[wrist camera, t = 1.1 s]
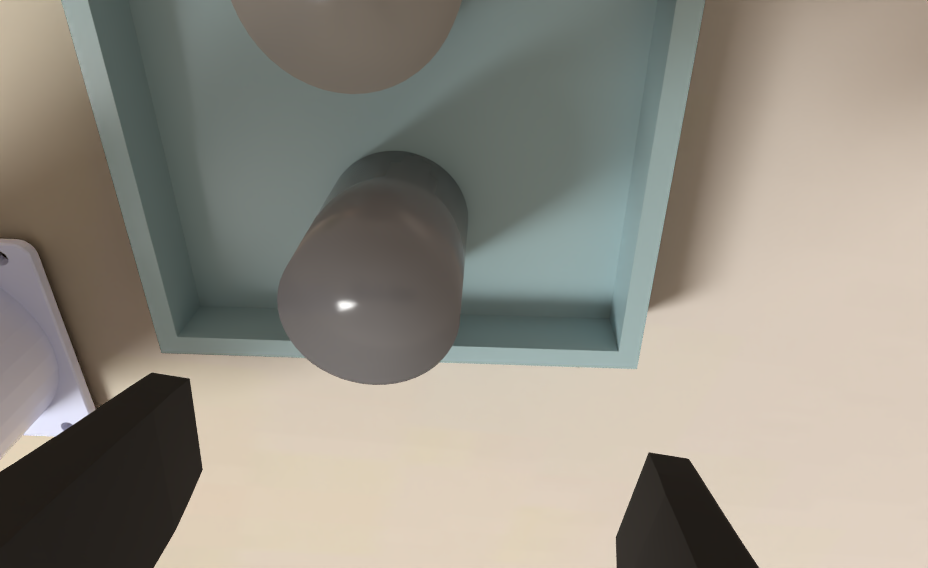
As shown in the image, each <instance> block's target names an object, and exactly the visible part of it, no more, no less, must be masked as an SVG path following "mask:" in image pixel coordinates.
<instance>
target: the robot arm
mask: <svg viewBox="0 0 928 568" xmlns="http://www.w3.org/2000/svg"><path fill="white" fill-rule="evenodd" d="M0 252H2V253H4V254H5V255H6V256H7V258H8V259H6V258H5V257H3V256H2V255H1V253H0V459H1V458H2V457H3V456H4V455H5V454H6V453H7V452H8V451H9V450H10V448H11V447H12V446H13V445H14V444H15V443H16V442H17V441H18V440H19V439H20V437H21V436H22V435H33V436H55V437H54V438H52V439H51V440H49V441H47V442H46V443H44V444H43V445H41V446H40V447H38V448H37V449H35V450H34V451H32V452H31V453H29V454H28V455H26V456H24V457H23V458H21V459H20V460H18V461H17V462H15V463H14V464H12V465H10V466H9V467H7V468H6V469H4V470H2V471H1V472H0V568H154V566H155V564H156V563H157V561H158V559H159V558H160V556H161V554H162V553H163V551H164V549H165V547H166V546H167V544H168V542H169V541H170V539H171V537H172V535H173V534H174V532H175V530H176V528H177V526H178V524H179V522H180V519H181V517H182V515H183V513H184V511H185V509H186V507H187V504H188V502H189V500H190V498H191V495H192V493H193V491H194V488H195V486H196V484H197V481H198V479H199V477H200V474H201V472H202V470H203V469H202V462H201V455H200V448H199V441H198V434H197V427H196V420H195V413H194V406H193V399H192V392H191V385H190V379H188V378H182V377H176V376H169V375H163V374H157V373H150V374H149V375H147V376H146V377H144V378H143V379H141V380H139V381H138V382H136V383H135V384H133V385H132V386H130V387H129V388H127V389H126V390H124V391H123V392H121V393H120V394H118V395H117V396H115V397H114V398H112V399H111V400H109V401H108V402H106V403H105V404H103V405H102V406H100V407H99V408H97V409H95V406H94V403H93V401H92V398H91V395H90V393H89V390H88V387H87V385H86V382H85V379H84V376H83V374H82V371H81V368H80V366H79V363H78V360H77V358H76V355H75V352H74V349H73V347H72V344H71V341H70V339H69V336H68V333H67V330H66V328H65V325H64V322H63V320H62V317H61V314H60V312H59V309H58V306H57V303H56V301H55V298H54V295H53V293H52V290H51V287H50V285H49V282H48V279H47V276H46V274H45V271H44V268H43V266H42V263H41V260H40V258H39V255H38V253H37V251H36V249H35V248H34V247H33V246H32V245H31V244H29V243H28V242H26V241H24V240H19V239H0ZM616 557H617V568H759V567H758V565H757V564H756V562H755V561H754V559H753V558H752V556H751V555H750V553H749V552H748V550H747V549H746V547H745V546H744V544H743V543H742V541H741V540H740V538H739V537H738V535H737V534H736V532H735V530H734V529H733V527H732V526H731V524H730V523H729V521H728V520H727V518H726V517H725V515H724V513H723V512H722V510H721V509H720V507H719V505H718V504H717V502H716V501H715V499H714V498H713V496H712V494H711V493H710V491H709V490H708V488H707V487H706V485H705V483H704V482H703V480H702V479H701V477H700V475H699V474H698V472H697V471H696V469H695V468H694V466H693V465H692V463H691V462H690V460H689V459H686V458H680V457H674V456H668V455H661V454H655V453H648V456H647V458H646V461H645V464H644V466H643V469H642V471H641V474H640V476H639V479H638V482H637V484H636V487H635V489H634V492H633V495H632V497H631V500H630V502H629V505H628V507H627V510H626V513H625V515H624V518H623V520H622V523H621V526H620V528H619V531H618V533H617V536H616Z"/></svg>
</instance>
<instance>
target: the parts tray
mask: <svg viewBox="0 0 928 568" xmlns="http://www.w3.org/2000/svg"><path fill="white" fill-rule="evenodd" d="M61 2H62V5H63V9H64V12H65V16H66V19H67V23H68V26H69V30H70V33H71V37H72V40H73V44H74V47H75V51H76V54H77V58H78V61H79V65H80V68H81V72H82V75H83V79H84V82H85V86H86V89H87V93H88V96H89V100H90V103H91V107H92V110H93V114H94V118H95V121H96V125H97V128H98V132H99V135H100V139H101V142H102V146H103V149H104V153H105V156H106V160H107V163H108V167H109V170H110V174H111V177H112V181H113V184H114V188H115V191H116V195H117V198H118V202H119V205H120V209H121V212H122V216H123V219H124V223H125V226H126V230H127V233H128V237H129V240H130V244H131V247H132V251H133V254H134V258H135V262H136V265H137V269H138V272H139V276H140V279H141V283H142V286H143V290H144V293H145V297H146V300H147V304H148V307H149V311H150V314H151V318H152V321H153V325H154V328H155V332H156V335H157V339H158V342H159V346H160V349H161V353H175V354H205V355H235V356H265V357H295V358H306V357H304V356H303V355H302V354H301V353H300V352H299V351H298V349H297V348H296V347H295V346H294V345H293V343H292V342H291V340H290V339H289V337H288V336H287V334H286V332H285V330H284V328H283V325H282V323H281V320H280V316H279V312H278V305H277V294H278V287H279V282H280V279H281V277H282V274H283V272H284V270H285V268H286V266H287V265H288V263H289V261H290V260H291V258H292V256H293V254H294V253H295V251H296V249H297V248H298V246H299V244H300V243H301V241H302V239H303V238H304V236H305V234H306V233H307V231H308V229H309V227H310V226H311V224H312V222H313V221H314V219H315V217H316V216H317V214H318V212H319V211H320V209H321V207H322V206H323V204H324V202H325V201H326V199H327V197H328V195H329V194H330V192H331V190H332V189H333V187H334V185H335V184H336V182H337V180H338V179H339V177H340V176H341V175H342V173H343V172H344V171H345V170H346V169H347V168H348V167H349V166H350V165H352V164H353V163H355V162H356V161H358V160H359V159H361V158H363V157H365V156H367V155H370V154H374V153H377V152H383V151H406V152H410V153H415V154H418V155H421V156H424V157H426V158H428V159H430V160H432V161H433V162H435V163H436V164H438V165H440V166H441V167H442V168H443V169H444V170H446V171H447V172H448V173H449V174H450V175H451V177H452V178H453V179H454V180H455V181H456V183H457V184H458V186H459V187H460V189H461V191H462V193H463V195H464V198H465V201H466V204H467V209H468V231H467V243H466V255H465V267H464V278H463V290H462V302H461V314H460V325H459V330H458V334H457V337H456V339H455V341H454V344H453V346H452V347H451V349H450V350H449V352H448V353H447V355H446V356H445V357H444V358H443V359H442V360H441V361H440V362H444V363H474V364H504V365H534V366H564V367H594V368H624V369H637V365H638V360H639V355H640V349H641V344H642V338H643V333H644V328H645V322H646V317H647V312H648V306H649V301H650V295H651V290H652V285H653V279H654V274H655V269H656V263H657V258H658V252H659V247H660V242H661V236H662V231H663V225H664V220H665V215H666V209H667V204H668V199H669V193H670V188H671V182H672V177H673V172H674V166H675V161H676V156H677V150H678V145H679V139H680V134H681V129H682V123H683V118H684V113H685V107H686V102H687V96H688V91H689V86H690V80H691V75H692V69H693V64H694V59H695V53H696V48H697V43H698V37H699V32H700V26H701V21H702V16H703V10H704V5H705V0H462V3H461V6H460V8H459V11H458V13H457V16H456V19H455V21H454V24H453V26H452V28H451V30H450V32H449V35H448V37H447V38H446V40H445V42H444V43H443V45H442V46H441V48H440V49H439V51H438V52H437V53H436V54H435V56H434V57H433V58H432V59H431V60H430V62H429V63H427V64H426V65H425V66H424V67H423V68H422V69H421V70H420V71H419V72H417V73H416V74H414V75H413V76H412V77H410V78H409V79H407V80H405V81H403V82H401V83H399V84H397V85H395V86H393V87H390V88H387V89H384V90H381V91H377V92H371V93H365V94H345V93H336V92H331V91H327V90H322V89H320V88H317V87H314V86H311V85H308V84H306V83H305V82H303V81H301V80H299V79H297V78H295V77H293V76H292V75H290V74H289V73H287V72H286V71H284V70H282V69H281V68H280V67H279V66H278V65H276V64H275V63H274V62H273V61H272V60H270V59H269V58H268V57H267V56H266V55H265V53H264V52H263V51H262V50H261V49H260V48H259V47H258V46H257V45H256V43H255V42H254V41H253V39H252V38H251V37H250V35H249V34H248V33H247V31H246V29H245V28H244V26H243V24H242V23H241V21H240V19H239V17H238V15H237V13H236V11H235V9H234V7H233V5H232V2H231V0H61Z"/></svg>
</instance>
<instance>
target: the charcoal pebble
mask: <svg viewBox="0 0 928 568" xmlns="http://www.w3.org/2000/svg"><path fill="white" fill-rule="evenodd" d="M467 231H468V209H467V204H466V201H465V198H464V195H463V193H462V191H461V189H460V187H459V186H458V184H457V183H456V181H455V180H454V179H453V178H452V177H451V175H450V174H449V173H448V172H447V171H446V170H444V169H443V168H442V167H441V166H440V165H438V164H436V163H435V162H433V161H432V160H430V159H428V158H426V157H424V156H421V155H418V154H415V153H410V152H406V151H383V152H377V153H374V154H370V155H367V156H365V157H363V158H361V159H359V160H358V161H356V162H355V163H353V164H352V165H350V166H349V167H348V168H347V169H346V170H345V171H344V172H343V173H342V175H341V176H340V177H339V179H338V180H337V182H336V184H335V185H334V187H333V189H332V190H331V192H330V194H329V195H328V197H327V199H326V201H325V202H324V204H323V206H322V207H321V209H320V211H319V212H318V214H317V216H316V217H315V219H314V221H313V222H312V224H311V226H310V227H309V229H308V231H307V233H306V234H305V236H304V238H303V239H302V241H301V243H300V244H299V246H298V248H297V249H296V251H295V253H294V254H293V256H292V258H291V260H290V261H289V263H288V265H287V266H286V268H285V270H284V272H283V274H282V277H281V279H280V282H279V287H278V294H277V305H278V312H279V316H280V320H281V323H282V325H283V328H284V330H285V332H286V334H287V336H288V337H289V339H290V340H291V342H292V343H293V345H294V346H295V347H296V348H297V349H298V351H299V352H300V353H301V354H302V355H303V356H304V357H306V358H307V359H308V360H309V361H310V362H311V363H313V364H314V365H316V366H317V367H319V368H320V369H322V370H324V371H326V372H328V373H330V374H332V375H334V376H336V377H339V378H341V379H345V380H348V381H352V382H356V383H362V384H372V385H386V384H394V383H399V382H403V381H407V380H410V379H413V378H416V377H418V376H420V375H422V374H424V373H426V372H427V371H429V370H430V369H432V368H433V367H435V366H436V365H437V364H438V363H439V362H440V361H441V360H442V359H443V358H444V357H445V356H446V355H447V353H448V352H449V350H450V349H451V347H452V346H453V344H454V341H455V339H456V337H457V334H458V330H459V325H460V314H461V302H462V290H463V278H464V267H465V255H466V243H467Z"/></svg>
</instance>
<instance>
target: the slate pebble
mask: <svg viewBox="0 0 928 568" xmlns="http://www.w3.org/2000/svg"><path fill="white" fill-rule="evenodd" d="M231 2H232V5H233V7H234V9H235V11H236V13H237V15H238V17H239V19H240V21H241V23H242V24H243V26H244V28H245V29H246V31H247V33H248V34H249V35H250V37H251V38H252V39H253V41H254V42H255V43H256V45H257V46H258V47H259V48H260V49H261V50H262V51H263V52H264V53H265V55H266V56H267V57H268V58H269V59H270V60H272V61H273V62H274V63H275V64H276V65H278V66H279V67H280V68H281V69H282V70H284V71H286V72H287V73H289V74H290V75H292V76H293V77H295V78H297V79H299V80H301V81H303V82H305V83H306V84H308V85H311V86H314V87H317V88H320V89H322V90H327V91H331V92H336V93H345V94H365V93H371V92H377V91H381V90H384V89H387V88H390V87H393V86H395V85H397V84H399V83H401V82H403V81H405V80H407V79H409V78H410V77H412V76H413V75H414V74H416V73H417V72H419V71H420V70H421V69H422V68H423V67H424V66H425V65H426V64H427V63H429V62H430V60H431V59H432V58H433V57H434V56H435V54H436V53H437V52H438V51H439V49H440V48H441V46H442V45H443V43H444V42H445V40H446V38H447V37H448V35H449V32H450V30H451V28H452V26H453V24H454V21H455V19H456V16H457V13H458V11H459V8H460V6H461V3H462V0H231Z"/></svg>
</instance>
